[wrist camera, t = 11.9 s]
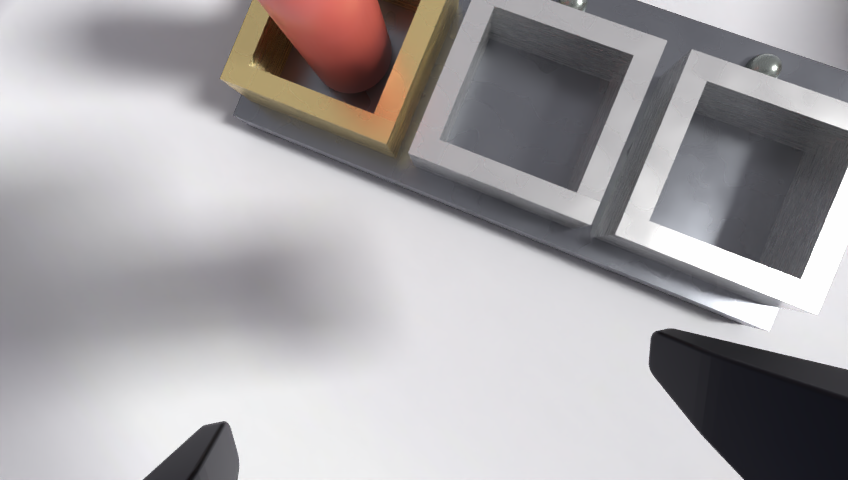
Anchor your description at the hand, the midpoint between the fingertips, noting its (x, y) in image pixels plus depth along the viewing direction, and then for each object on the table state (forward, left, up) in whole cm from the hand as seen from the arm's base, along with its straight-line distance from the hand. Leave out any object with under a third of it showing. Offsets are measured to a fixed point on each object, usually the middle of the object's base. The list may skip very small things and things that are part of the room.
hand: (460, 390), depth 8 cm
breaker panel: (+1, -11, -12) cm, 16 cm away
